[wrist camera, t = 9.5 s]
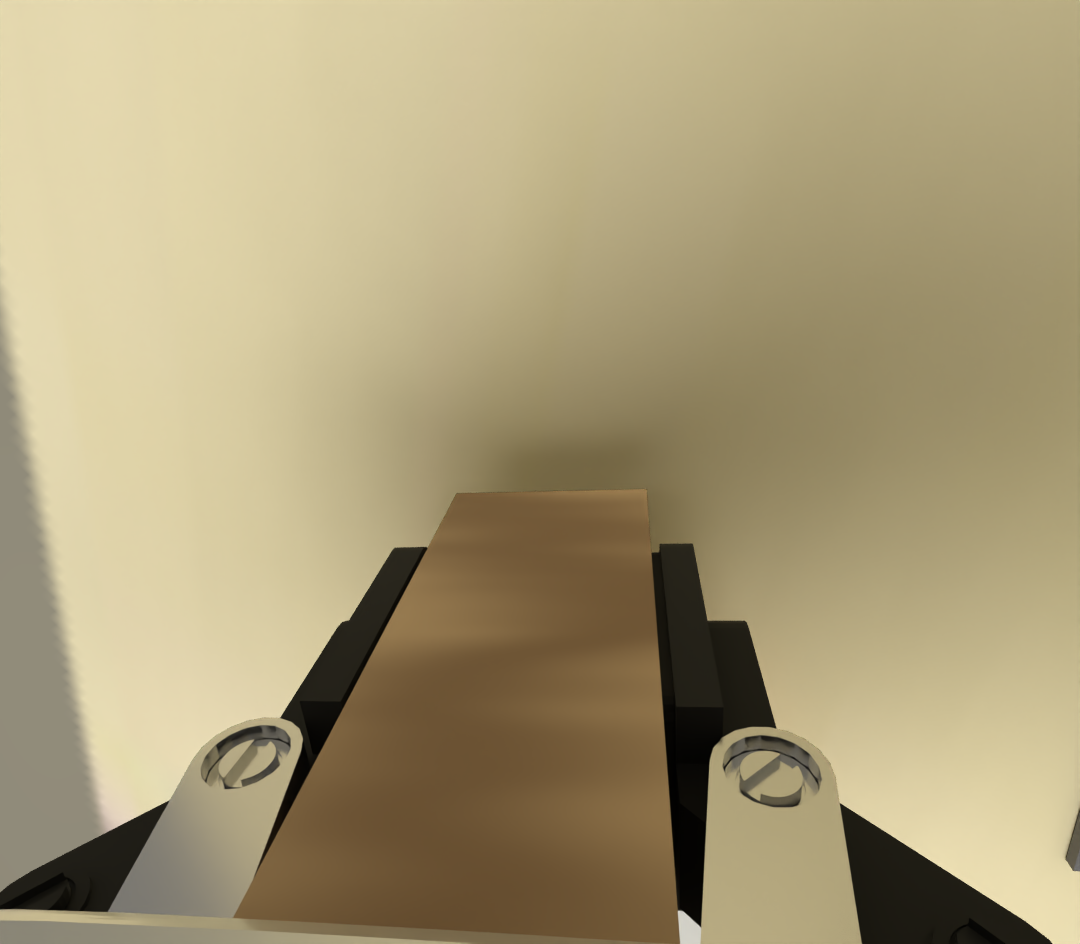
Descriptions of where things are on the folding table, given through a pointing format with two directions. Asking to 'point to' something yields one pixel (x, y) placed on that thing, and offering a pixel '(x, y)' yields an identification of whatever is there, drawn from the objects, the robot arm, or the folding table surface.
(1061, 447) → the folding table surface
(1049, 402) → the folding table surface
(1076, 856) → the mat
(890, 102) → the folding table surface
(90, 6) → the folding table surface
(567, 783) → the block on white plate
